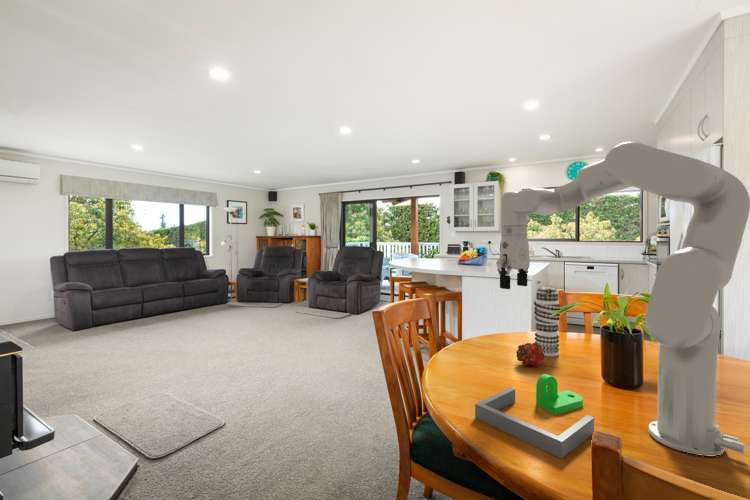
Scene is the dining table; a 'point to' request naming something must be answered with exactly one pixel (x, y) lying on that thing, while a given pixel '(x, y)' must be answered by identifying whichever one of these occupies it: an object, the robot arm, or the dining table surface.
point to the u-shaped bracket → (531, 426)
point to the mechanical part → (555, 396)
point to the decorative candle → (547, 320)
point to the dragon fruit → (530, 354)
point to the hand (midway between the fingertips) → (513, 287)
